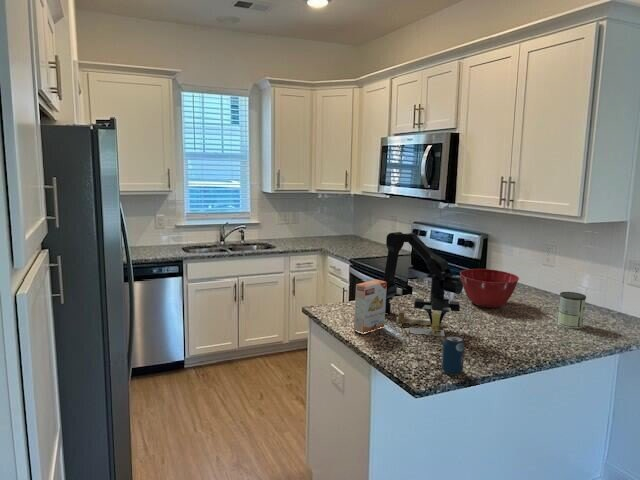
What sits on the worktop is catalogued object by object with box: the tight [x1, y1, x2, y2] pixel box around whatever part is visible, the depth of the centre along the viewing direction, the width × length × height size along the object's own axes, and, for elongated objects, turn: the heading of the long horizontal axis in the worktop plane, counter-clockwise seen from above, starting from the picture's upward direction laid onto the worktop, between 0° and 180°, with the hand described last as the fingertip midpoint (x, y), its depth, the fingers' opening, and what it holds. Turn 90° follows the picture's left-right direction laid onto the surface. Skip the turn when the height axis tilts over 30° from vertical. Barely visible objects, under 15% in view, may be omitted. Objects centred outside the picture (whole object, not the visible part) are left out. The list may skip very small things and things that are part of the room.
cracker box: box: [353, 279, 387, 333], centre depth 196 cm, size 14×6×21 cm, turn 134°
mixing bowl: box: [459, 268, 520, 309], centre depth 239 cm, size 28×28×16 cm
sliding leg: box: [431, 311, 441, 331], centre depth 200 cm, size 3×11×7 cm, turn 169°
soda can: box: [441, 334, 466, 376], centre depth 158 cm, size 7×7×12 cm
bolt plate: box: [408, 326, 446, 338], centre depth 197 cm, size 20×7×1 cm, turn 79°
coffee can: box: [557, 291, 587, 329], centre depth 209 cm, size 10×10×14 cm
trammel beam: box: [396, 310, 444, 328], centre depth 202 cm, size 20×10×6 cm, turn 79°
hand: (435, 324), depth 201 cm, fingers closed on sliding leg, 3 cm apart
